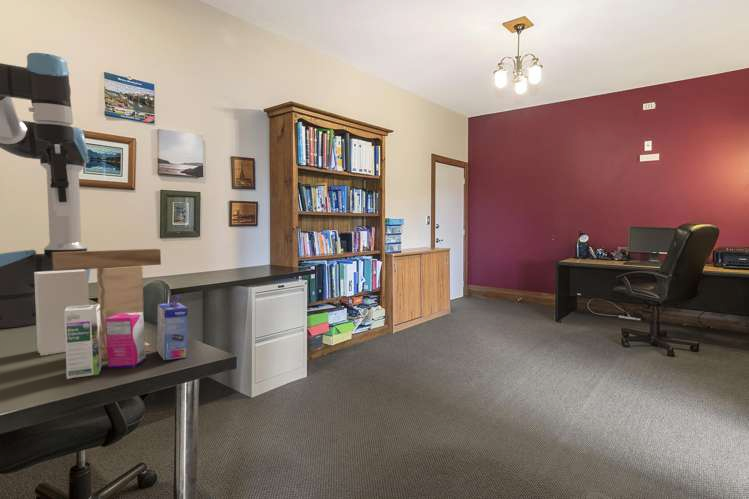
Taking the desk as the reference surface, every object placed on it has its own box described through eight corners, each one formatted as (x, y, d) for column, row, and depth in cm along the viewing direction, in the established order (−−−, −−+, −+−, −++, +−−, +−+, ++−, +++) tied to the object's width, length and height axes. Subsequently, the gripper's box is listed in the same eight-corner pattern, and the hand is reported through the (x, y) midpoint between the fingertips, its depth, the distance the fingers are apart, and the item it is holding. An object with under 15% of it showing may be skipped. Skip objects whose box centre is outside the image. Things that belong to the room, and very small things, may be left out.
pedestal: (37, 350, 103) (34, 272, 102) (85, 342, 110) (82, 269, 109) (41, 356, 99) (37, 274, 98) (90, 347, 106) (87, 270, 105)
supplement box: (120, 360, 96) (118, 312, 95) (146, 359, 97) (145, 312, 96) (106, 368, 90) (104, 317, 90) (134, 368, 91) (132, 317, 90)
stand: (94, 350, 103) (91, 266, 102) (137, 342, 110) (135, 263, 109) (104, 359, 96) (100, 269, 95) (150, 350, 103) (147, 266, 102)
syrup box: (65, 379, 84) (63, 310, 83) (71, 370, 89) (68, 305, 88) (99, 375, 86) (96, 307, 86) (102, 366, 92) (100, 302, 91)
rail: (52, 269, 94) (51, 252, 94) (155, 263, 110) (155, 248, 110) (55, 270, 91) (54, 253, 91) (160, 264, 107) (160, 249, 107)
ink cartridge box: (189, 357, 98) (188, 298, 97) (164, 362, 95) (162, 300, 94) (180, 347, 106) (179, 292, 105) (156, 351, 103) (155, 294, 102)
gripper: (33, 125, 104) (42, 208, 108) (33, 118, 85) (44, 219, 89) (69, 128, 109) (76, 208, 113) (77, 122, 90) (85, 218, 94)
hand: (62, 213), depth 101 cm, fingers open, 13 cm apart
